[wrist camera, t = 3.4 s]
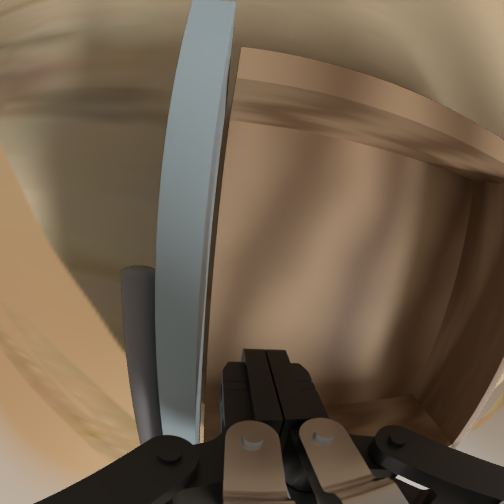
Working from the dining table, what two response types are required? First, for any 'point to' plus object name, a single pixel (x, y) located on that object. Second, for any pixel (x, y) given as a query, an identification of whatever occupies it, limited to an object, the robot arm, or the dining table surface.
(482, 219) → the crate
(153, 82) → the dining table surface
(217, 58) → the rectangular panel
